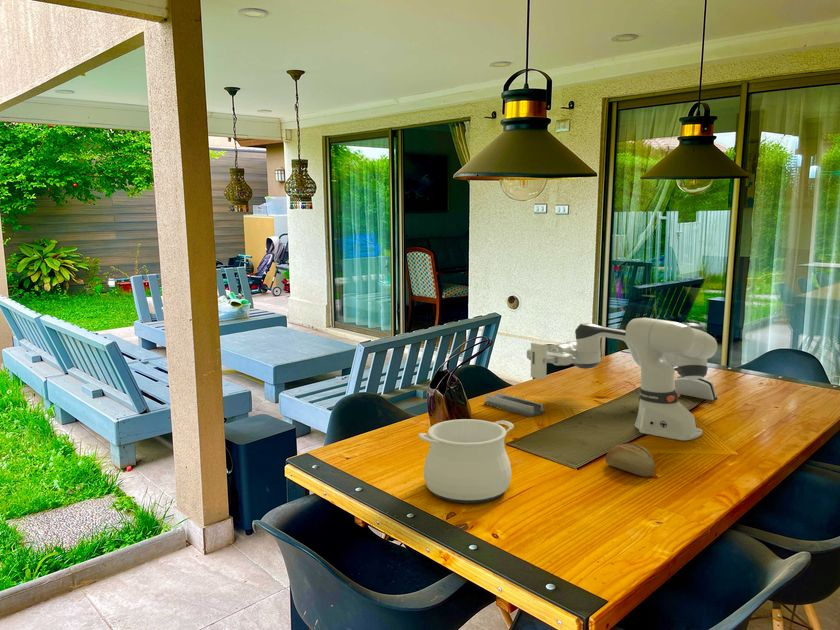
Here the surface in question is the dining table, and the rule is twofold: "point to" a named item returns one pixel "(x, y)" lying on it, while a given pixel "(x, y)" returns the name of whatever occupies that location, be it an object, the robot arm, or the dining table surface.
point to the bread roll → (631, 459)
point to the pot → (467, 460)
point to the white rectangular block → (538, 360)
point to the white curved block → (695, 388)
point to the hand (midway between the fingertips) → (537, 359)
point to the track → (515, 404)
